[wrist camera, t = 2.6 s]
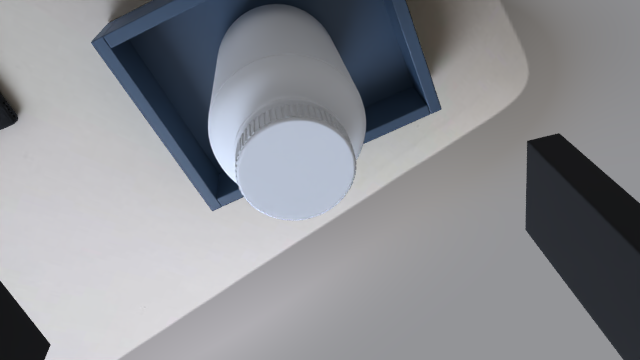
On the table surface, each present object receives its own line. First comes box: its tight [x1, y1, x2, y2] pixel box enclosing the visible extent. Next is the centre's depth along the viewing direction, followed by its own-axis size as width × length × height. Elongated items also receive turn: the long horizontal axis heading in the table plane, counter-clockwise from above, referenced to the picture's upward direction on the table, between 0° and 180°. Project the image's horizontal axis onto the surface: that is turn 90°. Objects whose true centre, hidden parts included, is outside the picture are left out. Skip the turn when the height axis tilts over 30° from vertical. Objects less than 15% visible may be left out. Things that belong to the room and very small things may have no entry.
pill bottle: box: [208, 4, 366, 220], centre depth 28 cm, size 8×8×15 cm
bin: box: [91, 0, 441, 211], centre depth 33 cm, size 18×14×4 cm
